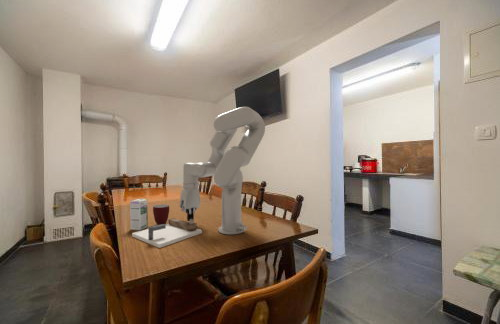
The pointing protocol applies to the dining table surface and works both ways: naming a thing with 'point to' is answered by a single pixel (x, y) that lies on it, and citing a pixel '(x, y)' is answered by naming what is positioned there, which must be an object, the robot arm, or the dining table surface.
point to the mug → (161, 213)
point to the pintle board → (166, 235)
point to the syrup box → (138, 214)
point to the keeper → (153, 228)
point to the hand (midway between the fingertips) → (190, 220)
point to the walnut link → (183, 224)
